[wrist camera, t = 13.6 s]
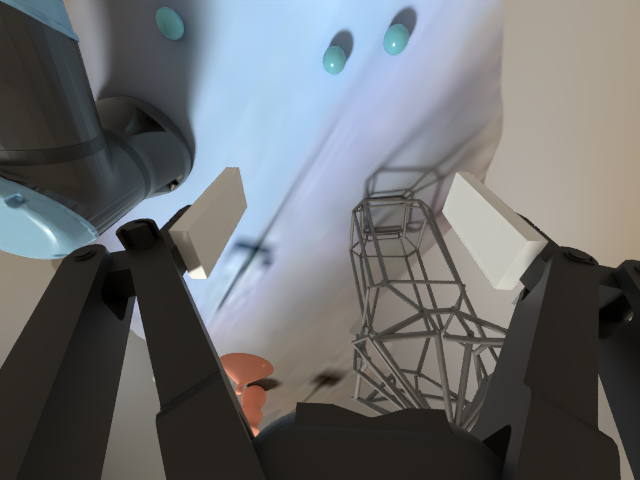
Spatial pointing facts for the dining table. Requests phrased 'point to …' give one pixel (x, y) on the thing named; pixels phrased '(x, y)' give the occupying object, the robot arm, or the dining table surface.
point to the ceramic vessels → (245, 372)
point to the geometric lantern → (473, 408)
